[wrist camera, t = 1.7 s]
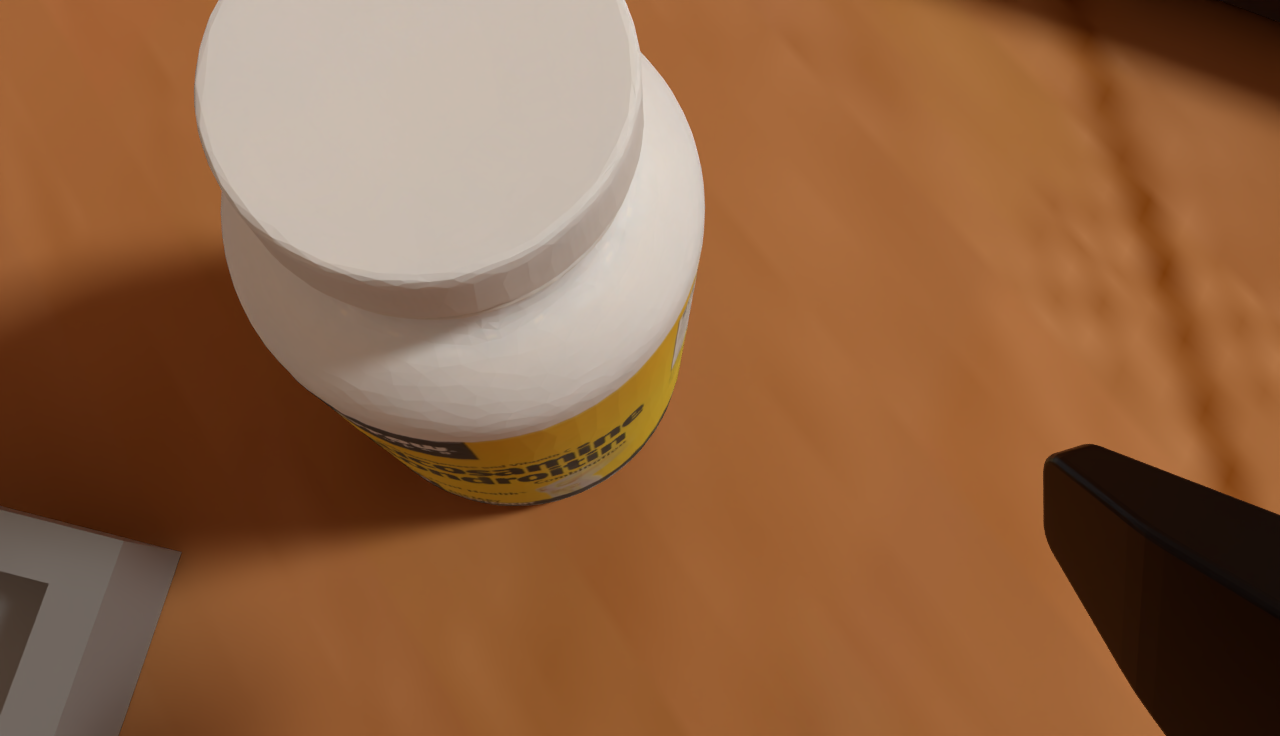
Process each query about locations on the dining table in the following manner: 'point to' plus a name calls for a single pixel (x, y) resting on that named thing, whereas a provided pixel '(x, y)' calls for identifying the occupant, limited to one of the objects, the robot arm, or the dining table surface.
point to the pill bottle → (460, 226)
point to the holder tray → (74, 624)
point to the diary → (1259, 7)
